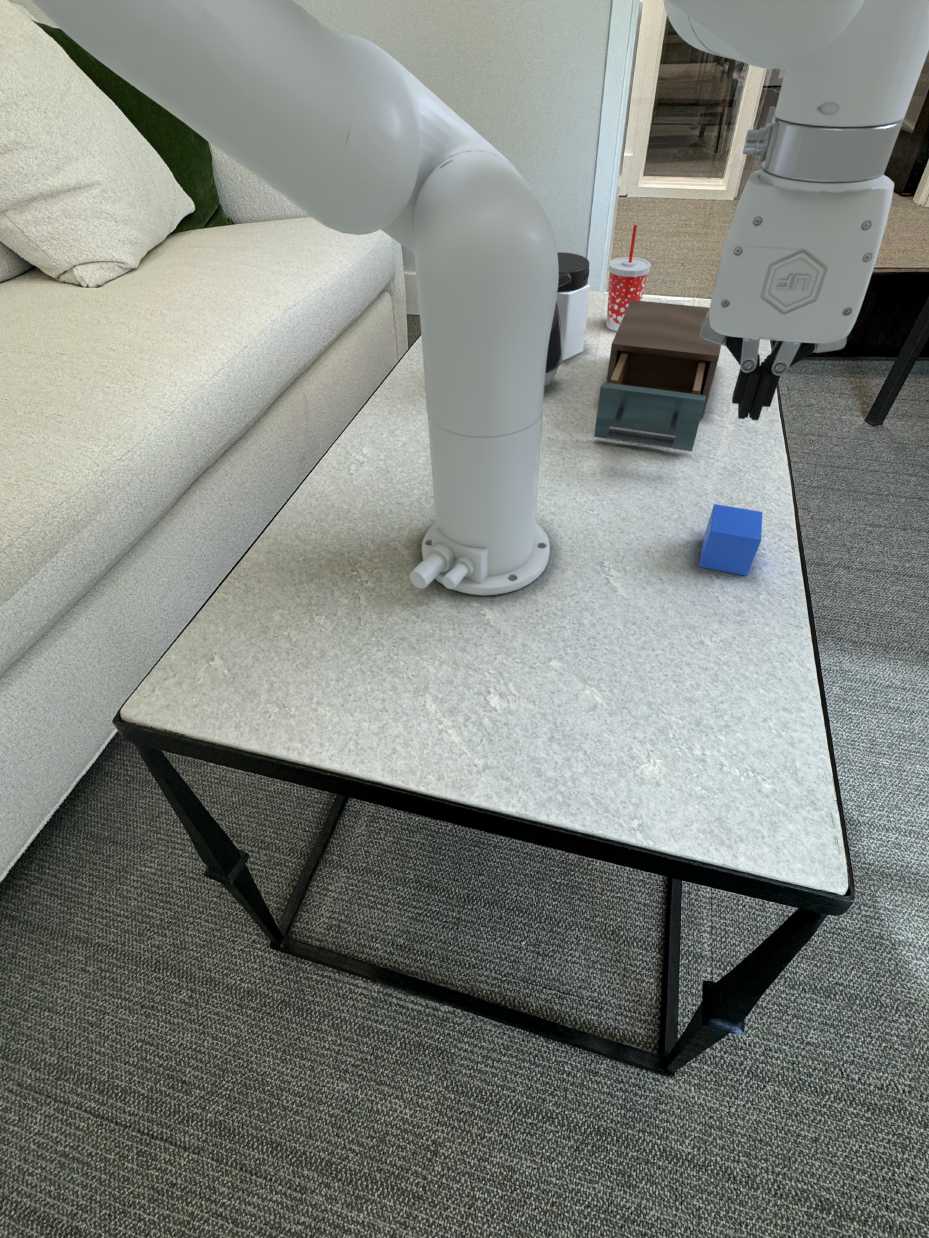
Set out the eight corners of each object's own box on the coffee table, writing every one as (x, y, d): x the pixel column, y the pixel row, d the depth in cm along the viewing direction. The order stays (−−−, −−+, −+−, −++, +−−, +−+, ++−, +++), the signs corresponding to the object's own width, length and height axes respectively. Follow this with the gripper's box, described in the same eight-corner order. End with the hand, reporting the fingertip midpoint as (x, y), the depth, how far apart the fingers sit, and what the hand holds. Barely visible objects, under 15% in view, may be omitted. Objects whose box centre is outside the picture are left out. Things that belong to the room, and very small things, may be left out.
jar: (589, 358, 94) (600, 269, 85) (536, 365, 93) (541, 275, 84) (569, 334, 100) (577, 248, 91) (519, 340, 99) (522, 254, 90)
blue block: (747, 576, 61) (761, 540, 57) (699, 567, 62) (710, 530, 59) (749, 547, 64) (762, 511, 60) (703, 539, 65) (714, 503, 61)
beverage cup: (627, 337, 98) (643, 234, 88) (593, 327, 101) (605, 226, 91) (647, 324, 102) (665, 223, 92) (614, 315, 104) (627, 216, 94)
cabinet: (702, 419, 81) (719, 355, 75) (603, 405, 84) (611, 343, 78) (711, 368, 90) (727, 309, 85) (622, 358, 94) (630, 299, 88)
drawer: (686, 480, 70) (700, 427, 66) (583, 463, 73) (589, 412, 69) (702, 397, 83) (714, 349, 78) (613, 386, 86) (620, 338, 81)
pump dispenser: (557, 405, 84) (568, 281, 73) (480, 399, 86) (478, 277, 75) (565, 370, 91) (575, 252, 80) (493, 365, 93) (493, 249, 82)
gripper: (705, 163, 41) (654, 424, 54) (969, 169, 38) (847, 445, 51) (709, 139, 46) (662, 383, 59) (943, 142, 43) (837, 400, 56)
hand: (747, 411), depth 55 cm, fingers closed
